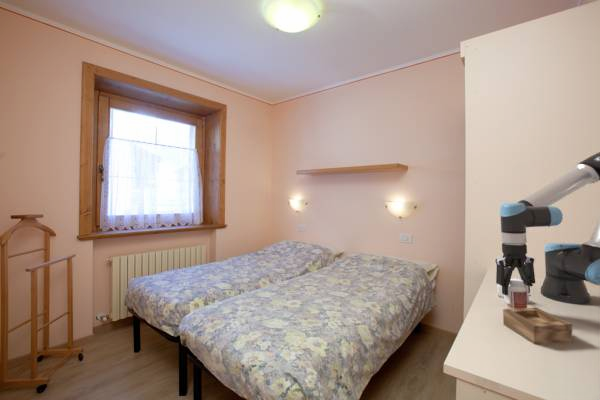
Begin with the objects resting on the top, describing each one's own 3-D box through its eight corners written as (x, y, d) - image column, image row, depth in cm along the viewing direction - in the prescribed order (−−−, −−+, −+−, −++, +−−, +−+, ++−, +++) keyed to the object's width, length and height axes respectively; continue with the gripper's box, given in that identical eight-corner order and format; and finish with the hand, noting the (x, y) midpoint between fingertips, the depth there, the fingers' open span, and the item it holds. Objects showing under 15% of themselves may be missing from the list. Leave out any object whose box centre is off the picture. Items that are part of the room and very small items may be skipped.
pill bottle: (529, 308, 102) (528, 280, 102) (523, 313, 99) (522, 284, 99) (510, 303, 107) (509, 276, 107) (504, 307, 104) (502, 280, 104)
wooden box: (536, 322, 94) (536, 307, 94) (572, 341, 82) (571, 324, 82) (503, 324, 94) (503, 309, 94) (534, 344, 82) (533, 326, 82)
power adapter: (532, 303, 109) (532, 289, 109) (525, 305, 107) (525, 291, 107) (502, 294, 120) (502, 281, 119) (496, 296, 118) (495, 283, 117)
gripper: (529, 239, 106) (531, 296, 107) (482, 243, 106) (485, 300, 107) (547, 243, 99) (549, 304, 100) (497, 246, 99) (499, 308, 99)
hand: (516, 302), depth 103 cm, fingers closed on pill bottle, 6 cm apart
